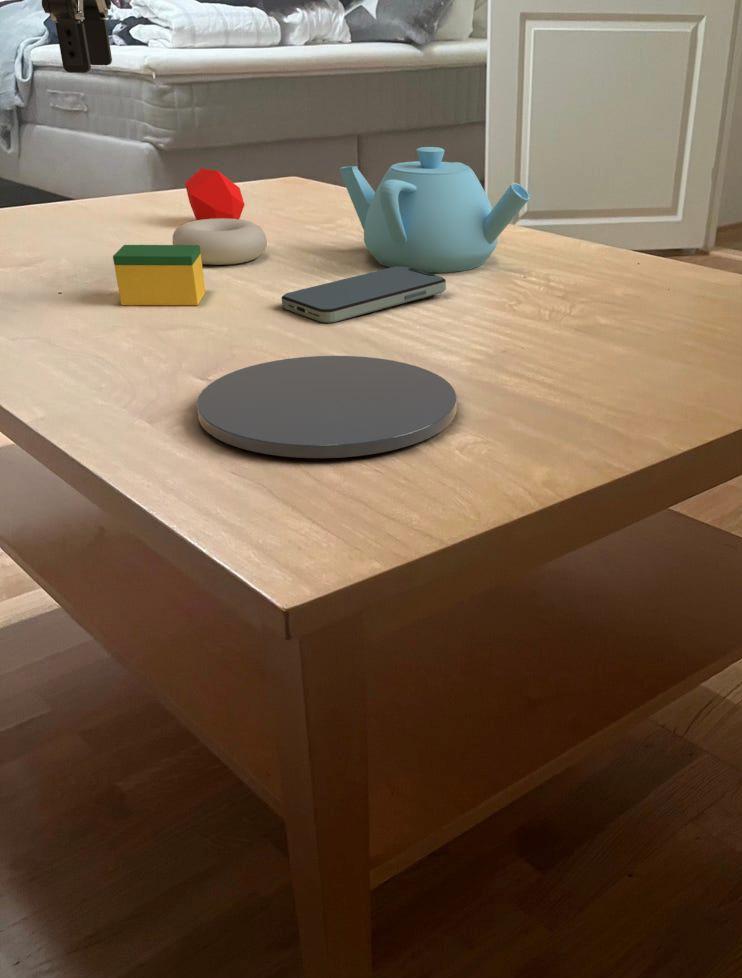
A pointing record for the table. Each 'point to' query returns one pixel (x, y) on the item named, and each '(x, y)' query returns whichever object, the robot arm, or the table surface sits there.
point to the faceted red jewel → (214, 196)
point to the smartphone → (363, 294)
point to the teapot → (431, 214)
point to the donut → (223, 240)
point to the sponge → (159, 274)
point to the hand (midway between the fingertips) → (89, 68)
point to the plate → (326, 406)
